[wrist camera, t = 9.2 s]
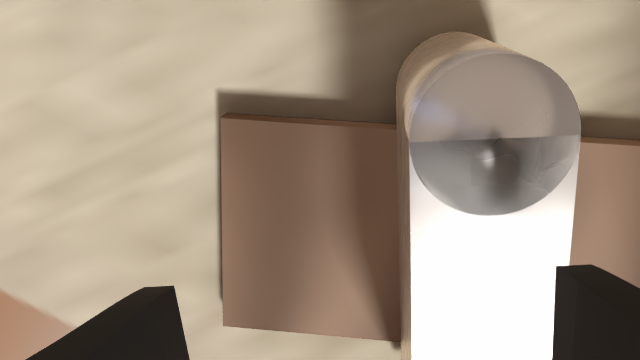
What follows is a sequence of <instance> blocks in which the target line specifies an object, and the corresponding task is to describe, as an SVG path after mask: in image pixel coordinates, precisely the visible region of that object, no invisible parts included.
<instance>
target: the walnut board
mask: <svg viewBox="0 0 640 360" xmlns="http://www.w3.org/2000/svg"><path fill="white" fill-rule="evenodd" d="M221 196H222V279H223V326H229V327H240V328H251V329H262V330H273V331H285V332H296V333H307V334H318V335H329V336H340V337H351V338H362V339H373V340H384V341H395V342H401V327H400V278H399V229H398V180H397V131H396V124H384V123H369V122H354V121H338V120H323V119H308V118H293V117H278V116H263V115H248V114H233V113H226V114H225V115H224V116H223V117H221ZM587 264H592V265H594V266H596V267H599V268H601V269H603V270H605V271H607V272H609V273H611V274H613V275H615V276H617V277H619V278H621V279H623V280H625V281H627V282H629V283H631V284H633V285H634V286H636V287H638V288H640V140H626V139H611V138H595V137H581V140H580V151H579V162H578V173H577V184H576V195H575V205H574V216H573V227H572V238H571V249H570V260H569V265H587Z"/></svg>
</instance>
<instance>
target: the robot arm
mask: <svg viewBox="0 0 640 360" xmlns="http://www.w3.org/2000/svg"><path fill="white" fill-rule="evenodd" d="M26 360H189V355H188V350H187V345H186V341H185V336H184V331H183V326H182V322H181V317H180V312H179V307H178V303H177V298H176V293H175V289H174V286H161V287H144V288H142V289H140V290H138V291H136V292H134V293H132V294H130V295H129V296H127V297H125V298H123V299H122V300H120V301H119V302H117V303H115V304H114V305H112V306H111V307H109V308H107V309H106V310H104V311H103V312H101V313H100V314H98V315H96V316H95V317H93V318H92V319H90V320H89V321H87V322H86V323H84V324H82V325H81V326H79V327H78V328H76V329H75V330H73V331H72V332H70V333H68V334H67V335H65V336H64V337H62V338H61V339H59V340H57V341H56V342H54V343H53V344H51V345H49V346H48V347H46V348H44V349H43V350H41V351H39V352H38V353H36V354H34V355H33V356H31V357H29V358H28V359H26ZM552 360H640V288H638V287H636V286H634V285H633V284H631V283H629V282H627V281H625V280H623V279H621V278H619V277H617V276H615V275H613V274H611V273H609V272H607V271H605V270H603V269H601V268H599V267H596V266H594V265H592V264H587V265H568V266H556V278H555V300H554V323H553V345H552Z"/></svg>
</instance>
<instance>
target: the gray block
mask: <svg viewBox="0 0 640 360" xmlns="http://www.w3.org/2000/svg"><path fill="white" fill-rule="evenodd" d="M396 131H397V180H398V229H399V278H400V327H401V360H552V345H553V323H554V300H555V278H556V266H568V265H569V260H570V249H571V238H572V227H573V216H574V205H575V195H576V184H577V173H578V162H579V151H580V140H581V119H580V112H579V109H578V105H577V102H576V100H575V98H574V95H573V93H572V92H571V90H570V89H569V87H568V85H567V84H566V83H565V82H564V81H563V79H562V78H561V77H560V76H559V75H558V74H557V73H555V72H554V71H553V70H552V69H551V68H549V67H547V66H546V65H544V64H543V63H541V62H538V61H536V60H534V59H532V58H529V57H527V56H525V55H522V54H520V53H517V52H515V51H513V50H510V49H508V48H506V47H503V46H501V45H498V44H496V43H494V42H491V41H489V40H487V39H484V38H482V37H479V36H477V35H474V34H471V33H466V32H446V33H442V34H438V35H436V36H433V37H431V38H429V39H427V40H425V41H423V42H422V43H421V44H419V45H418V46H417V47H416V48H415V49H414V50H413V51H412V52H411V53H410V54H409V55H408V57H407V58H406V59H405V61H404V63H403V64H402V67H401V69H400V71H399V74H398V77H397V83H396Z"/></svg>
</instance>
